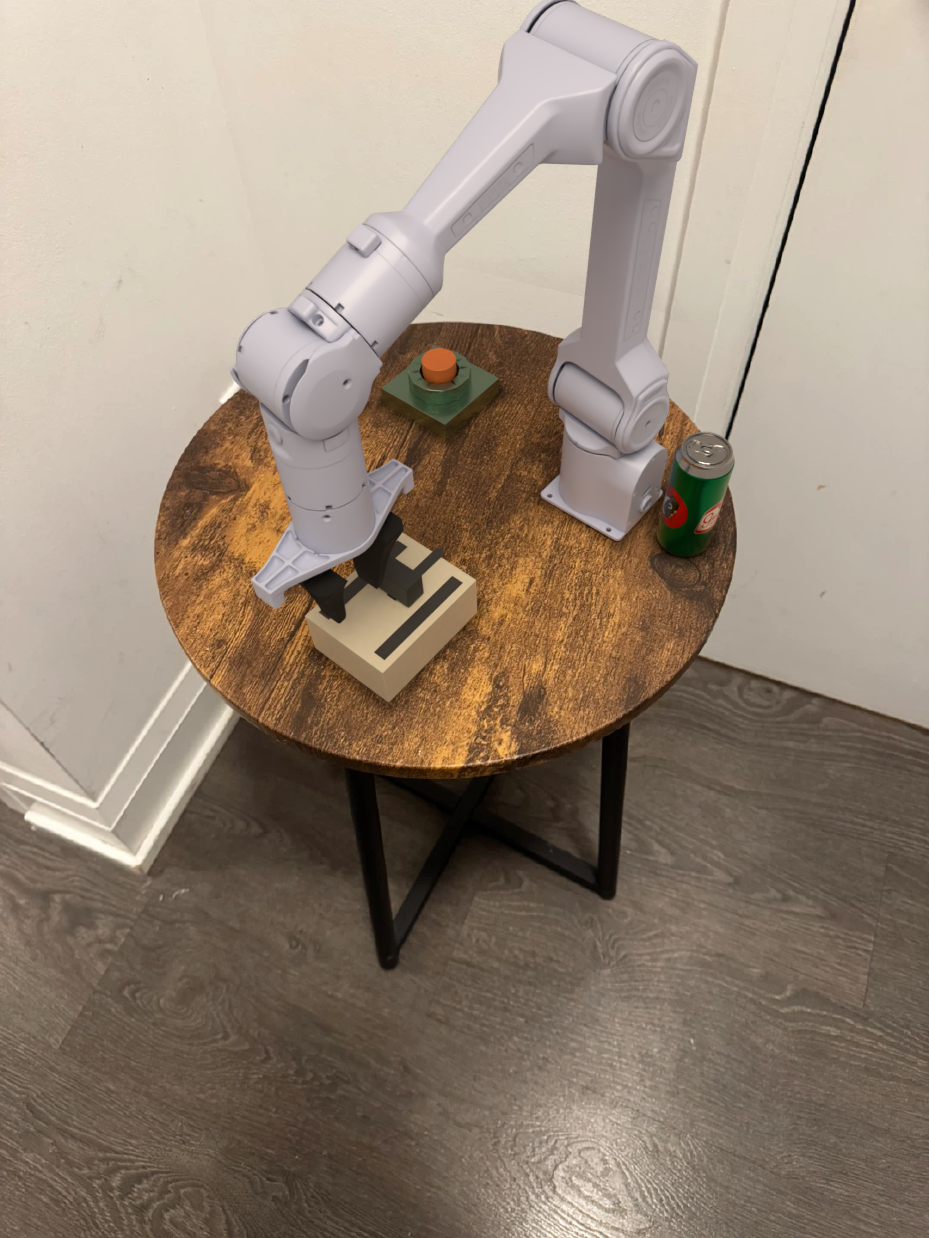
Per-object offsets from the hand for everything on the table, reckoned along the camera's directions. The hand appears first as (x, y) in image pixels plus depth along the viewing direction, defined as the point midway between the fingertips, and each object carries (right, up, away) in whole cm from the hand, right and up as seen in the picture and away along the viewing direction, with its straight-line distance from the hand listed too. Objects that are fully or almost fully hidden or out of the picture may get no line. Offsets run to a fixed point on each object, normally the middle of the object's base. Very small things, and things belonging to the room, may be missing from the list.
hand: (352, 597), depth 71 cm
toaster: (+3, -3, +9) cm, 10 cm away
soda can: (+30, +6, +14) cm, 34 cm away
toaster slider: (+3, +1, +6) cm, 7 cm away
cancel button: (+6, +24, +23) cm, 34 cm away
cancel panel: (+6, +22, +26) cm, 35 cm away
